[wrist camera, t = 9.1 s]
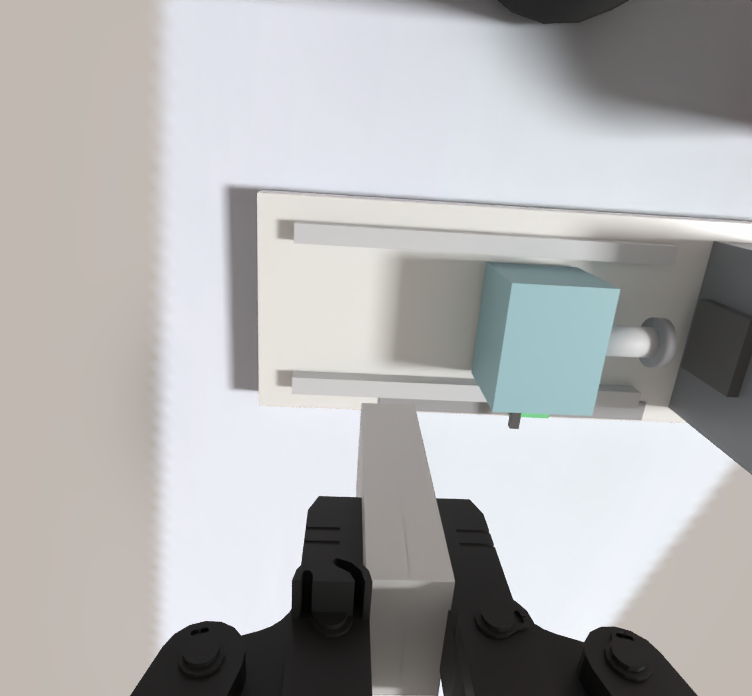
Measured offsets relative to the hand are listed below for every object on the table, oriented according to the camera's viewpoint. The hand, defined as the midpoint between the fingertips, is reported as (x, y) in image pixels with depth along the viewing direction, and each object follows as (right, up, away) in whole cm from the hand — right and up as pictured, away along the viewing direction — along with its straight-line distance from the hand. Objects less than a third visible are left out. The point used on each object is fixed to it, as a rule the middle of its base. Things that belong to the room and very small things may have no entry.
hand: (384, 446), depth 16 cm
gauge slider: (+10, +3, +15) cm, 18 cm away
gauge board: (+7, +5, +17) cm, 19 cm away
